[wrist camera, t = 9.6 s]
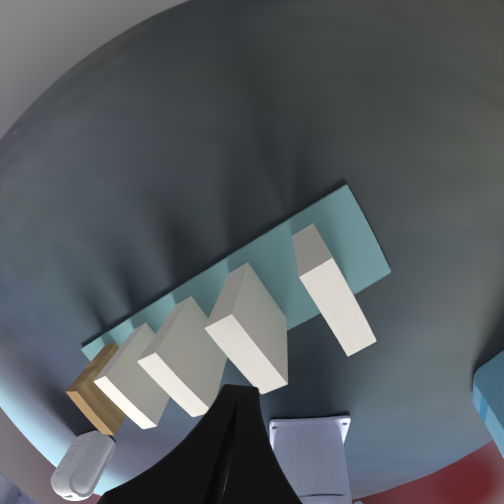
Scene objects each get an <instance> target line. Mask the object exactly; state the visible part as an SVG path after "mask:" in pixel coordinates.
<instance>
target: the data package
mask: <svg viewBox="0 0 504 504" xmlns="http://www.w3.org/2000/svg"><path fill="white" fill-rule="evenodd" d="M472 402H473V404H474V406H475V407H476V409H477V411H478V413H479V414H480V416H481V418H482V419H483V421H484V423H485V425H486V426H487V428H488V430H489V432H490V434H491V435H492V437H493V439H494V441H495V443H496V445H497V446H498V449H499V451H500V452H501V454H502V456H503V458H504V350H503V351H501V352H500V353H499V354H497V355H496V356H495V357H493V358H492V359H491V360H489V361H488V362H487V363H485V364H484V365H482V366H481V367H480V368H478V369H477V371H476V372H475V374H474V377H473V394H472Z"/></svg>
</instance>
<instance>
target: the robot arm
mask: <svg viewBox="0 0 504 504" xmlns="http://www.w3.org/2000/svg"><path fill="white" fill-rule="evenodd" d="M350 421H351V419H350V416H348V415H346V416H336V417H324V418H307V419H273V420H271V421H270V423H269V427H270V441H269V438H268V435H267V432H266V429H265V425H264V422H263V418H262V414H261V408H260V402H259V389H258V388H257V387H251V386H239V385H230V384H225V385H223V386H222V388H221V390H220V392H219V394H218V396H217V397H216V399H215V401H214V402H213V404H212V405H211V407H210V408H209V409H208V411H207V412H206V413H205V415H204V416H203V418H202V419H201V420H200V421H199V423H198V424H197V425H196V426H195V427H194V429H193V430H192V431H191V432H190V433H189V434H188V435H187V436H186V437H185V439H184V440H183V441H182V442H181V443H180V444H179V445H177V446H176V447H175V448H174V449H173V450H172V451H171V452H170V453H169V454H167V455H166V456H165V457H164V458H162V459H161V460H160V461H159V462H157V463H156V464H155V465H153V466H152V467H151V468H149V469H148V470H146V471H144V472H143V473H141V474H140V475H138V476H136V477H135V478H133V479H131V480H130V481H128V482H126V483H124V484H122V485H120V486H117V487H115V488H113V489H111V490H109V491H107V492H105V493H104V494H103V495H102V497H101V498H100V500H99V501H98V503H97V504H352V498H351V494H350V488H349V480H348V473H347V466H346V459H345V453H344V446H343V444H344V441H345V438H346V434H347V431H348V428H349V424H350ZM229 468H230V469H229ZM228 472H229V473H228ZM227 475H228V478H227ZM226 479H227V482H226ZM225 483H226V486H225ZM224 487H225V490H224ZM223 493H224V494H223ZM0 504H39V503H38V502H36V501H35V500H34V499H32V498H31V497H29V496H28V495H26V494H25V493H24V492H22V491H21V490H20V489H19V488H18V487H17V486H16V485H15V484H14V483H13V482H11V481H10V480H9V479H8V478H7V477H6V476H4V475H3V474H2V473H0ZM354 504H363V503H361V501H358V502H354Z"/></svg>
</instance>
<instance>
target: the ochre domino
mask: <svg viewBox="0 0 504 504" xmlns="http://www.w3.org/2000/svg"><path fill="white" fill-rule="evenodd" d="M118 349H119V346H118V345H117V343H113V344H109V345H105V346H104V347H103V348H102V349H101V350H100V352H99V353H98V354H97V355H96V356H95V357H94V359H93V360H92V361H91V362H90V363H89V364H88V366H87V367H86V368H85V369H84V370H83V372H82V373H81V374H80V375H79V376H78V378H77V379H76V380H75V381H74V382H73V384H72V385H71V386H70V387H69V389H68V390H67V391H66V393H67V394H68V395H69V396H70V398H71V399H72V400H73V401H74V403H75V404H76V405H77V406H78V407H79V409H80V410H81V411H82V412H83V413H84V415H85V416H86V417H87V418H88V419H89V420H90V421H91V422H92V424H93V425H94V426H95V427H96V428H97V429H98V430H99V431H100V432H101V433H102V434H105V435H115V434H116V432H117V430H118V429H119V427H120V425H121V423H122V421H123V420H124V418H125V416H126V414H125V413H124V412H123V411H122V410H121V409H120V408H119V407H118V406H117V405H116V404H115V403H114V402H113V401H112V400H111V399H110V398H109V397H108V396H107V395H106V394H105V393H104V392H103V391H102V390H101V389H100V388H99V387H98V386H97V385H96V384H95V383H94V382H93V381H94V380H95V378H96V377H97V376H98V374H99V373H100V372H101V371H102V369H103V368H104V367H105V365H106V364H107V363H108V362H109V360H110V359H111V358H112V356H113V355H114V354H115V353H116V351H117V350H118Z"/></svg>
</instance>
